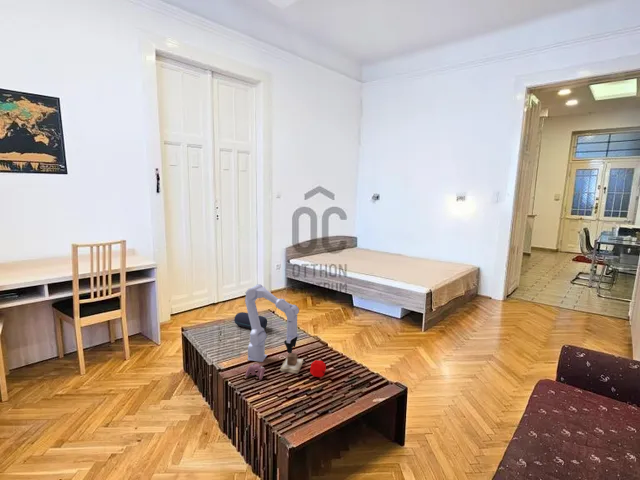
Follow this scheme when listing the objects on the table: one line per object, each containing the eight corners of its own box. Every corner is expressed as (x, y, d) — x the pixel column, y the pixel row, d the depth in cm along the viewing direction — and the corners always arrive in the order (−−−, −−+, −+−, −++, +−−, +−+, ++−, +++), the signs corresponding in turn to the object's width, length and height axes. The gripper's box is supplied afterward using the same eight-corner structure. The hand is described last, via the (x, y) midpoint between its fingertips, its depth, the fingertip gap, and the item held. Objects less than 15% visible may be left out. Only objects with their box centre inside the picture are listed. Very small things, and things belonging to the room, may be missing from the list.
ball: (323, 380, 180) (324, 366, 179) (309, 378, 182) (309, 365, 181) (326, 372, 188) (326, 359, 187) (312, 370, 190) (312, 357, 188)
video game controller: (264, 379, 182) (267, 366, 184) (260, 380, 178) (263, 366, 180) (248, 376, 185) (250, 362, 187) (244, 376, 181) (247, 362, 183)
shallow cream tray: (280, 371, 188) (280, 367, 187) (286, 360, 199) (286, 357, 199) (298, 373, 186) (298, 369, 186) (303, 362, 198) (303, 359, 197)
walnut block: (287, 364, 191) (287, 356, 190) (289, 360, 195) (289, 352, 194) (294, 365, 190) (295, 357, 189) (297, 361, 194) (297, 353, 193)
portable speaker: (269, 328, 243) (270, 315, 242) (262, 334, 234) (262, 320, 233) (241, 322, 253) (241, 309, 252) (232, 327, 244) (232, 313, 243)
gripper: (295, 333, 183) (295, 356, 185) (301, 322, 197) (301, 344, 199) (282, 331, 184) (282, 355, 186) (290, 321, 198) (289, 343, 200)
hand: (291, 349), depth 192 cm, fingers open, 7 cm apart
